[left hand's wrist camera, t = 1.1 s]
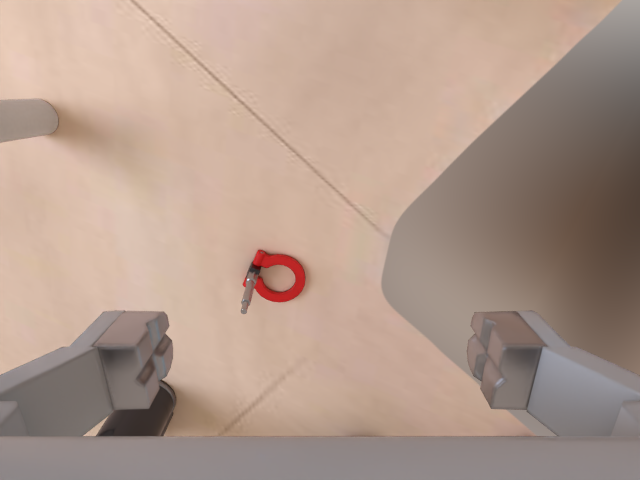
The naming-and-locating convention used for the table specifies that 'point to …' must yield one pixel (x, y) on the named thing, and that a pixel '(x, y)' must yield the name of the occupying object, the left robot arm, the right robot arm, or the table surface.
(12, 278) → the table surface
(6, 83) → the table surface
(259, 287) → the tow hook
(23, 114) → the white plastic cylinder
